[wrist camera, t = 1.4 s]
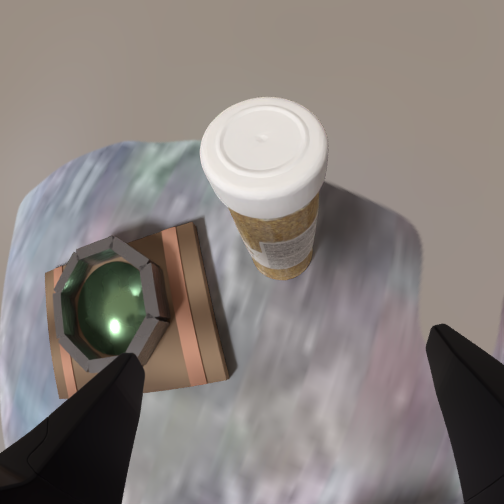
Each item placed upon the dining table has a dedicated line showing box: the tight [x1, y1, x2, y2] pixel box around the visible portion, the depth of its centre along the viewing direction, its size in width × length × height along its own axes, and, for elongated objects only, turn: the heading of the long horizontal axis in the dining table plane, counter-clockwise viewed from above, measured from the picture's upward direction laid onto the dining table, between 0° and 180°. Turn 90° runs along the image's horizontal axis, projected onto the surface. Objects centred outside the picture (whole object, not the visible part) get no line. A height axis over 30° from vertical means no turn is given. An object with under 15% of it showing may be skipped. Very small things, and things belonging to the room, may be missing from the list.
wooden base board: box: [45, 222, 229, 399], centre depth 22 cm, size 12×16×1 cm
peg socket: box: [53, 236, 171, 373], centre depth 21 cm, size 10×10×2 cm
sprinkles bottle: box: [200, 97, 328, 280], centre depth 16 cm, size 5×5×13 cm
